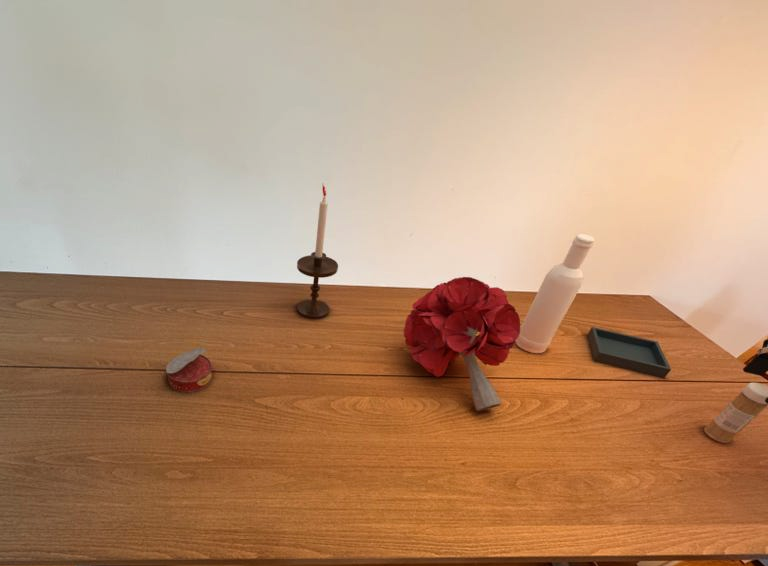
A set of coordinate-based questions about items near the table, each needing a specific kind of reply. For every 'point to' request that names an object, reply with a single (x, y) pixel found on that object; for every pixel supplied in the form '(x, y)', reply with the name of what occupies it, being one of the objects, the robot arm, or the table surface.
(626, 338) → the serving tray
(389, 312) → the table surface
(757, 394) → the sprinkles bottle
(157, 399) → the table surface
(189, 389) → the canned food
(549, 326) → the bottle
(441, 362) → the bouquet
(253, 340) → the table surface
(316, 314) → the candlestick
